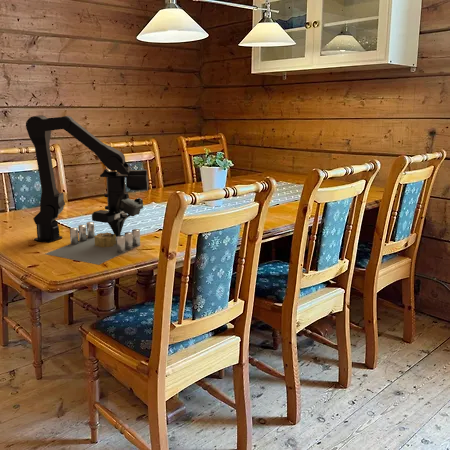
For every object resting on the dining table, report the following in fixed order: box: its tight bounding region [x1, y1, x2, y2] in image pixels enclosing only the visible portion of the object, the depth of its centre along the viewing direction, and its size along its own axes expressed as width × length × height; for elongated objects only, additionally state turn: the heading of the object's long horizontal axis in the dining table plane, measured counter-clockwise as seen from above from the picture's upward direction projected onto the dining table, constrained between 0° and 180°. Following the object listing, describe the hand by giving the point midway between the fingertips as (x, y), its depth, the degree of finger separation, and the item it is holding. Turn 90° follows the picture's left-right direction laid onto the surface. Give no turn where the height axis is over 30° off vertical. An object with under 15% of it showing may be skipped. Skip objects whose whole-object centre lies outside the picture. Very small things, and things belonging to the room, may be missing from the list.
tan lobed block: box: [94, 232, 117, 248], centre depth 156 cm, size 6×6×3 cm
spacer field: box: [69, 221, 141, 254], centre depth 156 cm, size 20×10×5 cm, turn 66°
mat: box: [45, 238, 138, 266], centre depth 152 cm, size 20×21×1 cm
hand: (117, 236), depth 162 cm, fingers closed
